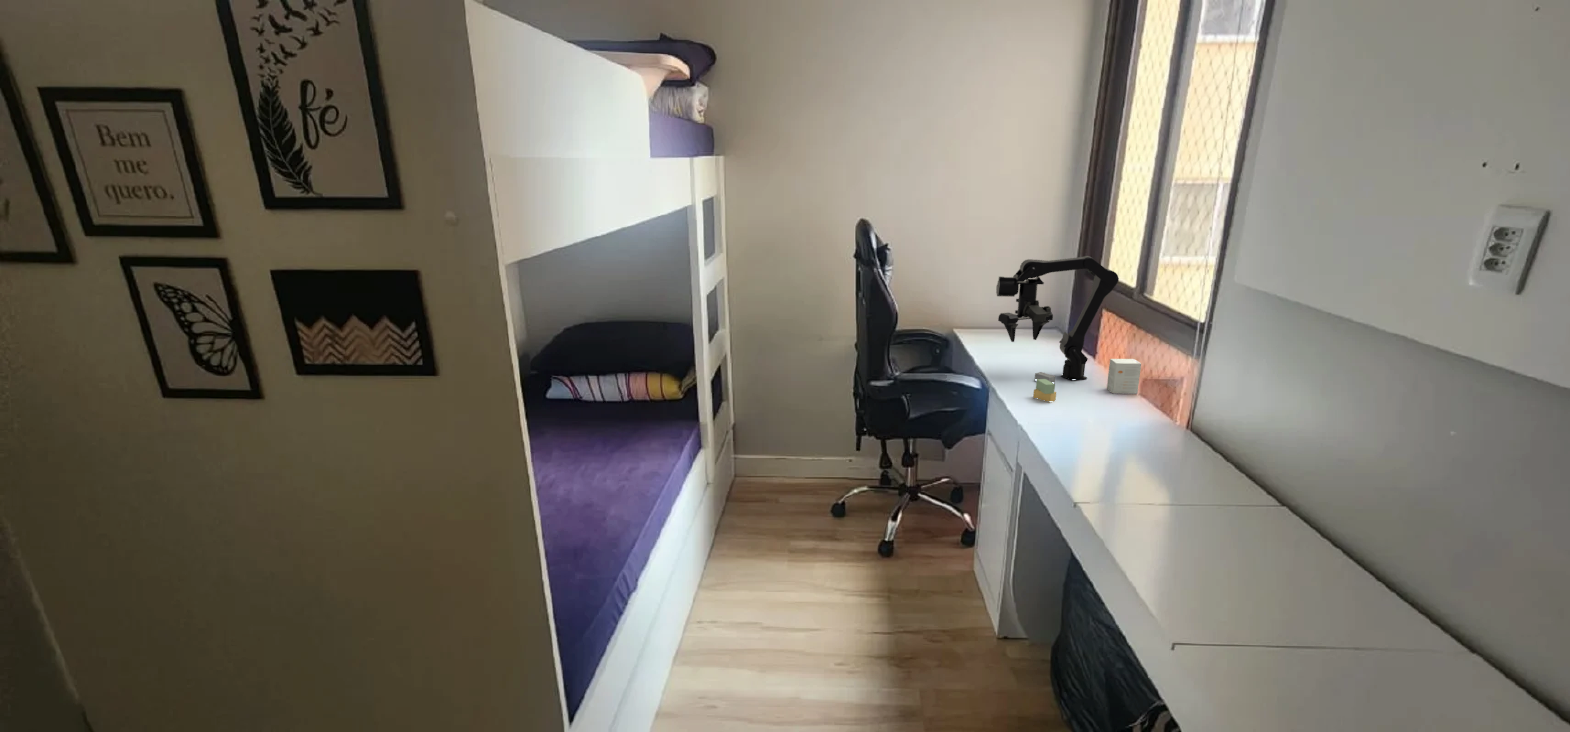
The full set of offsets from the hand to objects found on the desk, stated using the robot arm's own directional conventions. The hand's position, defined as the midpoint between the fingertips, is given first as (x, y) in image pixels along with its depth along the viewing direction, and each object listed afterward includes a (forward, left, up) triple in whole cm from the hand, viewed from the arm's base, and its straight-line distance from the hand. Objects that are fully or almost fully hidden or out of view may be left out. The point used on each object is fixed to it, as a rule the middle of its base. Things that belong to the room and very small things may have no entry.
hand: (1023, 340), depth 237 cm
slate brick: (-3, +9, -13) cm, 16 cm away
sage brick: (+9, +24, -10) cm, 27 cm away
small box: (-20, +26, -13) cm, 35 cm away
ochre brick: (+9, +24, -13) cm, 29 cm away
